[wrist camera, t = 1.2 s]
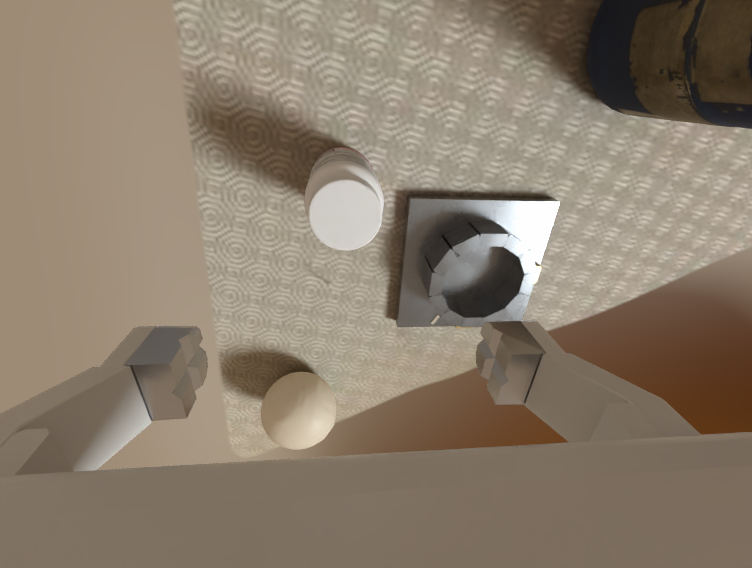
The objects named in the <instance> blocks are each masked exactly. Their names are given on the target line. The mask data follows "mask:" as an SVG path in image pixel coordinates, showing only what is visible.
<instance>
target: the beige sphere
mask: <svg viewBox="0 0 752 568" xmlns="http://www.w3.org/2000/svg"><path fill="white" fill-rule="evenodd" d="M335 417H336V402H335V398H334V395H333V393H332V391H331V389H330V387H329V385H328V384H327V383H326V382H325V381H324V380H323V379H322V378H321V377H320V376H318V375H316V374H313V373H308V372H294V373H290V374H287V375H285V376H283V377H281V378H280V379H278V380H277V381H276V382H275V383H274V384H273V385H272V386H271V387H270V389H269V390H268V391H267V393H266V395H265V397H264V400H263V403H262V407H261V420H262V424H263V427H264V430H265V431H266V433H267V435H268V436H269V437H270V438H271V439H272V440H273V441H274V442H275V443H277V444H278V445H280V446H282V447H285V448H289V449H305V448H309V447H311V446H313V445H315V444H317V443H318V442H320V441H321V440H323V439H324V438H325V437H326V435H327V434H328V433H329V431H330V430H331V429H332V427H333V426H334V424H335Z"/></svg>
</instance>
